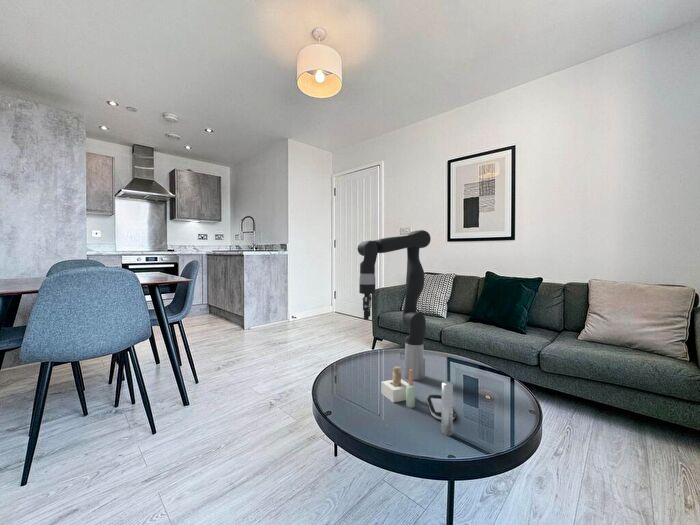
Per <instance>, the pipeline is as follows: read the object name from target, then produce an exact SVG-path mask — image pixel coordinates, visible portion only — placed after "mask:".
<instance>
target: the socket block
mask: <svg viewBox="0 0 700 525" xmlns="http://www.w3.org/2000/svg"><path fill="white" fill-rule="evenodd" d="M380 384H381V385H380V386H381V389H380V390H381V392H380V393H381V394H382V395H383V396H385V397H386V398H387V399H388V400H389V401H390V402H392V403H397V402H402V401H403V402H404V401H406V386H407V385H412V386H414V380H413V370H412V369H409V379H408V382H407V381H405V380H404V379H402V378H401V386H399V387H394V386H393V379H391V380H390V379H389V380H384V381H381V383H380Z"/></svg>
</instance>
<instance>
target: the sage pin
mask: <svg viewBox="0 0 700 525" xmlns="http://www.w3.org/2000/svg"><path fill="white" fill-rule="evenodd" d="M405 406H406V408H409V409H412V408H415V407H416V386H415V385H413V386H412V385H407V386H406V400H405Z"/></svg>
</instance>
